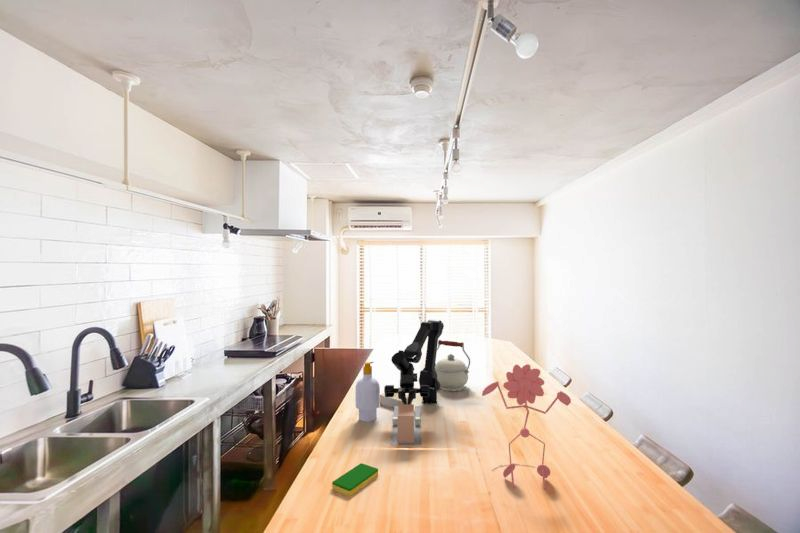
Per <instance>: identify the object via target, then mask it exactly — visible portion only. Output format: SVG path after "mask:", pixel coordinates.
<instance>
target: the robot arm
mask: <svg viewBox="0 0 800 533" xmlns="http://www.w3.org/2000/svg"><path fill="white" fill-rule="evenodd" d="M444 326H445V325H444V323H443V321H442V320H440V319H439V320H438V319H428V320H427V321H421V322H420V327H419V328H418V331H417V333H416V335H415V337H414V338H413V341H412V342H411V343H410V344H408V345H407V346H406V347H405V349H404V350H402V349H399V350H398V352H396V353H394V354H393V355H392V357H391V360H390V361H391V362H392V364H393V365H394V367H396V369H398V371H399V372H400V374H399V375H400V376H399V377H400V379H399V387H397V388H396V387H395V385H394V384H385V386H384V387H383V388H384V389H383V390H384V391H383V392H384V393H385V397H393V396H394V393H398V398H399V399H401V400H402V402H403V404H410V405H411V402H412V403H413V400H415V399H416V398H417V394H419V396H420V397H421V398H422V402H423V404H435V405H436V404H438V398H437V397H438V395H437V394H438V391H440V390H441V389H440V383H439V381H438V379H437V373H436V371H435V363H436V360H437V351H438V350H437V348H438V340H439V338H441V336H442V335H443V330H444ZM426 341H427V345H426V353H425V360H424V362H425V363H424V367H423V369H422V370H420V371H419V378H418V373H417V372H416V373H415V372H414V371H415V367H414V364H418V363H419V362H420V361H421V358H422V354H423V352H422V349H423V348H424V347H423V346H424V344H425V342H426ZM417 382H418V384H419V387H415V383H417ZM407 394H408V403H407V402H406V395H407Z"/></svg>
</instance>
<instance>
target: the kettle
mask: <svg viewBox="0 0 800 533" xmlns="http://www.w3.org/2000/svg"><path fill="white" fill-rule="evenodd" d="M464 344H465V343H464V342H463V341H461V342H458V341H452V340H441V339H438V344H437V351H438V350H439V349H440V347H441V345H443V346H448V347H460V348H462V352H463V353H464V355H465V357H467V360H468V365H467V366H466V364H465V363H464V361H463V360H461V359H459V358H456V357H455V355H454V354H452V353H450V354H448V355H447V358H442V359H440V360H438V362H435V371H436V373H437V379H438V381H439V383H440V389H439V390H443V391H445V392H446V391H447V392H457V391H458V392H459V391H462V390H464V388H465V386H466V384H467V382H468V380H469V373H470V371H469V369H470V366H471V358H470V357H469V355H468V353H467V352H466V350H465V345H464Z"/></svg>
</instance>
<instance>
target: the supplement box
mask: <svg viewBox="0 0 800 533" xmlns="http://www.w3.org/2000/svg"><path fill="white" fill-rule="evenodd" d="M405 395H406V402H407V403H408V395H407V394H405ZM399 404H403V402H402V400H401V399H399V398H398V393H394V396H393V397H385V392H384V393H382V394H380V406H383V407H389V408H393V409H394V406H399ZM411 405H413V401H412V402H411Z"/></svg>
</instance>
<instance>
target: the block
mask: <svg viewBox="0 0 800 533" xmlns="http://www.w3.org/2000/svg"><path fill="white" fill-rule="evenodd" d="M414 411H415V404H412V405H410V404H399V406H398V443H414Z"/></svg>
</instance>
